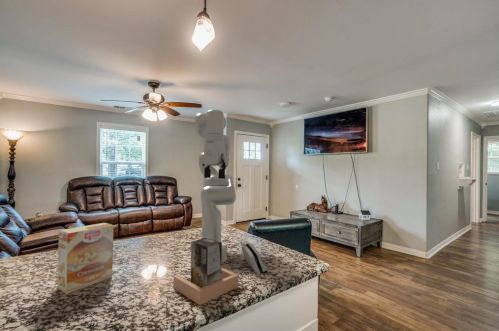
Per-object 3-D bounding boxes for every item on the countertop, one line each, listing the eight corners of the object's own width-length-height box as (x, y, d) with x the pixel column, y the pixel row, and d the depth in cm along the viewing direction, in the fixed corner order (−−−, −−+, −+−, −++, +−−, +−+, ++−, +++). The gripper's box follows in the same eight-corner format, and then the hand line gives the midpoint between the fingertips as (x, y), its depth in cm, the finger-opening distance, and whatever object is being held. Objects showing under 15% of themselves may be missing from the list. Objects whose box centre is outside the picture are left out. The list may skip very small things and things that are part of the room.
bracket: (173, 288, 83) (173, 276, 83) (211, 273, 95) (211, 263, 95) (199, 305, 73) (200, 291, 73) (238, 286, 84) (238, 274, 84)
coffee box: (222, 291, 81) (222, 242, 81) (206, 298, 76) (207, 246, 77) (205, 282, 87) (205, 236, 87) (189, 289, 82) (190, 240, 83)
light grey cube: (216, 265, 103) (216, 250, 104) (207, 261, 107) (207, 247, 108) (226, 261, 108) (226, 247, 108) (217, 257, 112) (217, 244, 112)
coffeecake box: (66, 294, 78) (67, 233, 78) (56, 288, 82) (57, 230, 82) (113, 277, 91) (114, 224, 91) (103, 272, 95) (104, 222, 95)
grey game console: (269, 272, 96) (261, 249, 95) (258, 278, 95) (250, 254, 94) (255, 257, 112) (248, 237, 111) (246, 262, 111) (239, 242, 110)
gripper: (196, 139, 110) (195, 177, 110) (221, 136, 98) (220, 179, 98) (209, 141, 116) (208, 177, 115) (234, 138, 104) (234, 178, 104)
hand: (214, 178), depth 107 cm, fingers open, 9 cm apart
